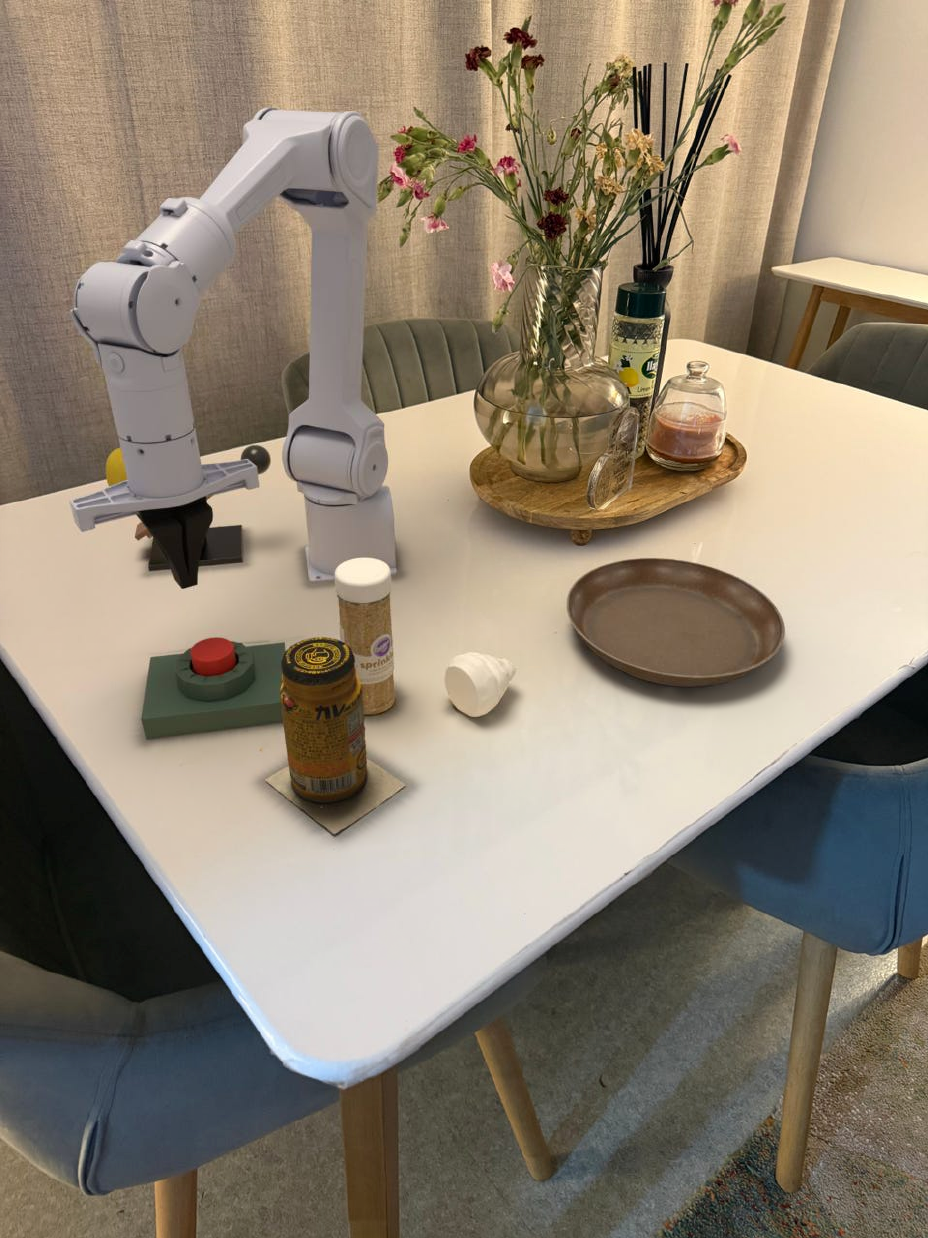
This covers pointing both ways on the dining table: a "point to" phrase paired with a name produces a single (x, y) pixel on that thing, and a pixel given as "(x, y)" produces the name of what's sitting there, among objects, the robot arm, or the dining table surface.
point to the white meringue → (477, 682)
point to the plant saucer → (675, 621)
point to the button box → (213, 693)
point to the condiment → (327, 737)
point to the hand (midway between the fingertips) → (186, 582)
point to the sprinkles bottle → (368, 627)
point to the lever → (252, 453)
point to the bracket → (208, 548)
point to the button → (213, 656)
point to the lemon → (115, 468)
